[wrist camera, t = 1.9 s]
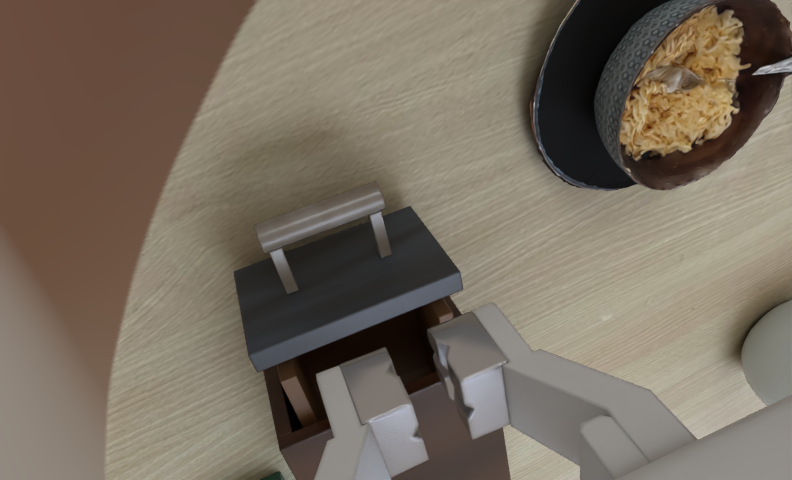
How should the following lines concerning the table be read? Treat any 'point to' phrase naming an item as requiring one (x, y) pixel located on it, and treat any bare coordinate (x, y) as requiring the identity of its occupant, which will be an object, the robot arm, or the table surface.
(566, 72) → the soup bowl
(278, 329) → the drawer
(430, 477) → the cabinet
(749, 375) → the vase
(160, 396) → the table surface
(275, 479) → the block
